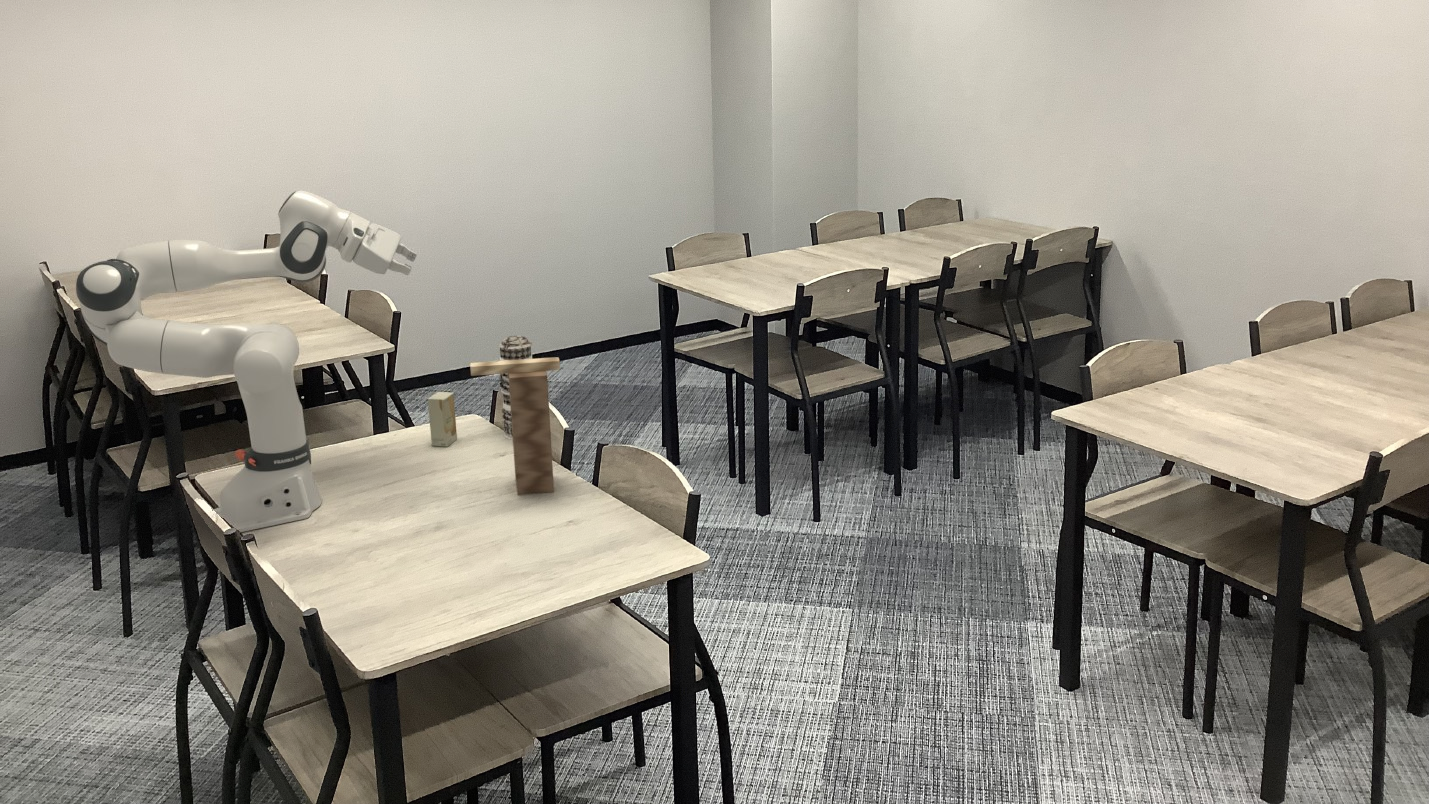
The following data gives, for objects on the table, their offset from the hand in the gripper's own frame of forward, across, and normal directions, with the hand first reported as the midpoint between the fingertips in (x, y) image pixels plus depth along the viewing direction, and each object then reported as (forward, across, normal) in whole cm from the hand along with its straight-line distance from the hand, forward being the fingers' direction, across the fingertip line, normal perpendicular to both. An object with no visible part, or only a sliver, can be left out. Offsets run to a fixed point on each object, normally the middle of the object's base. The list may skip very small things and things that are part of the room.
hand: (412, 264), depth 270 cm
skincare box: (+26, -6, -40) cm, 49 cm away
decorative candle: (+43, -9, -31) cm, 54 cm away
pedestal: (+44, +24, -25) cm, 57 cm away
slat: (+28, +22, -4) cm, 36 cm away
